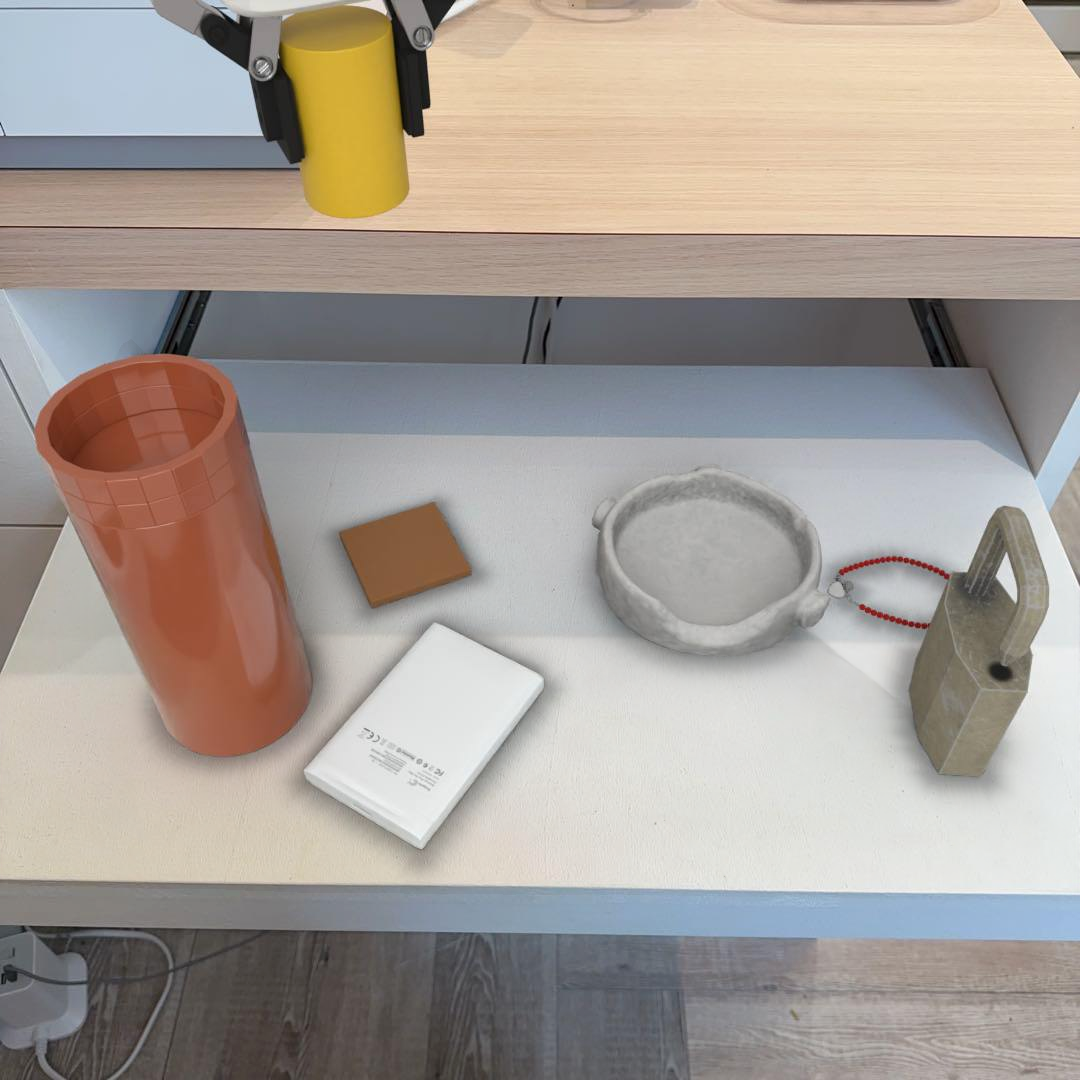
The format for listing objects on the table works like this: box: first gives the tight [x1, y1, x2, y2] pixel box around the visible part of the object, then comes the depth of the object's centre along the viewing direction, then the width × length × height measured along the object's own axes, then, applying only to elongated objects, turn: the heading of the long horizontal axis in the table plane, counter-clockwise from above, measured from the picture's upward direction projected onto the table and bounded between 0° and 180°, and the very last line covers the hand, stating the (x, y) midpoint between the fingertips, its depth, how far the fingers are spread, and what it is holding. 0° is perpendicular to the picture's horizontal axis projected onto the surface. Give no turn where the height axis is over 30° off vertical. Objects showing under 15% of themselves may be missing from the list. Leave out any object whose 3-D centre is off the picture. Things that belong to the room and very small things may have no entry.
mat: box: [338, 502, 472, 609], centre depth 73 cm, size 7×7×1 cm
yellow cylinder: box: [278, 4, 410, 219], centre depth 51 cm, size 5×5×8 cm
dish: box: [591, 463, 831, 657], centre depth 69 cm, size 14×14×5 cm
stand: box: [33, 353, 313, 757], centre depth 57 cm, size 9×9×22 cm
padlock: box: [908, 505, 1050, 778], centre depth 59 cm, size 4×8×15 cm, turn 176°
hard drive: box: [303, 622, 545, 850], centre depth 63 cm, size 2×8×12 cm
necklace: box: [827, 555, 950, 630], centre depth 70 cm, size 9×6×1 cm
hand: (349, 134), depth 52 cm, fingers closed on yellow cylinder, 5 cm apart
